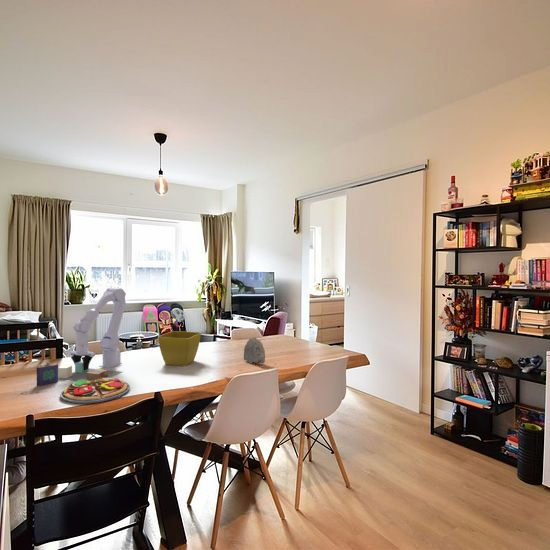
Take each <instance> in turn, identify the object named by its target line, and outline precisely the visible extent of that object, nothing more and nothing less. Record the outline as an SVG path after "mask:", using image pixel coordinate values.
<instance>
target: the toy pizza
mask: <svg viewBox="0 0 550 550" xmlns="http://www.w3.org/2000/svg"><path fill="white" fill-rule="evenodd" d="M130 389H131V385H130V384H129V383H127V382H126V381H124V380H122V379H118V378H114V377H110V378H101V379H97V380H93V381H88V380H78V381H74V382H73V383H71V384H69V385H67V386H66V387H65V388H64V389H63V390H62V391H61V392H60V394H59V395H60V398H61V399H63V400H64V401H65V402H68V403H73V404H93V403H101V402H105V401H106V402H107V401H110V400H111V401H112V400H114V399H117V398H119V397H121V396H123V395H125V394H126V393H127V392H128V391H129V390H130Z"/></svg>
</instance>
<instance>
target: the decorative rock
mask: <svg viewBox="0 0 550 550" xmlns="http://www.w3.org/2000/svg"><path fill="white" fill-rule="evenodd" d="M243 360H244V361H246V362H248V363H250V364H252V365H253V364H254V365H255V364H265V362H266V351H265V349H264V346H263V343H262V341H261V340H259V339H258V338H257V337H252V338H249V339H248V340H247V342H246V344H245V346H244V348H243Z"/></svg>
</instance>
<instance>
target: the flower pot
mask: <svg viewBox="0 0 550 550" xmlns="http://www.w3.org/2000/svg"><path fill="white" fill-rule="evenodd" d="M201 335H202V332H199V331H198V332H197V331H179V330H172V331H170V332H167V333H164V334H161V335H158V336H157V340H158V346H159V350H160V354H161V356H162V359H163V362H164V364H165V365H171V366H180V367H181V366H184V367H185V366H187V365H189V364H190V363H192V362H194V361H195V359H196V357H197V354H198V353H197V352H198V351H199V347H200V343H201V342H200V341H201Z"/></svg>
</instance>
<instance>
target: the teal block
mask: <svg viewBox="0 0 550 550" xmlns="http://www.w3.org/2000/svg"><path fill="white" fill-rule="evenodd" d="M89 368H90V366H89V367H88V369H87V370H84V365H83V360H81V361H79V362H76V363H75V364H74V372H78V373H84V372H86V371H89Z"/></svg>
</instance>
